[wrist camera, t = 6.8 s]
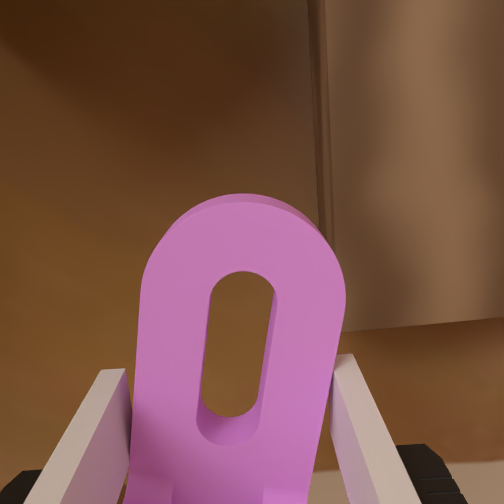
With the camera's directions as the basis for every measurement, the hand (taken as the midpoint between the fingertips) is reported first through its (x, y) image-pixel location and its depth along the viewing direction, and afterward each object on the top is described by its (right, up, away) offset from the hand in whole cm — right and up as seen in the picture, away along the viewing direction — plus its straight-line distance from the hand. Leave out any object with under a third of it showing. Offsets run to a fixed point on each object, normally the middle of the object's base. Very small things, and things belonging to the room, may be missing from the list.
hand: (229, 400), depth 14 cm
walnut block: (+12, +12, +13) cm, 22 cm away
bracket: (0, 0, +1) cm, 1 cm away
